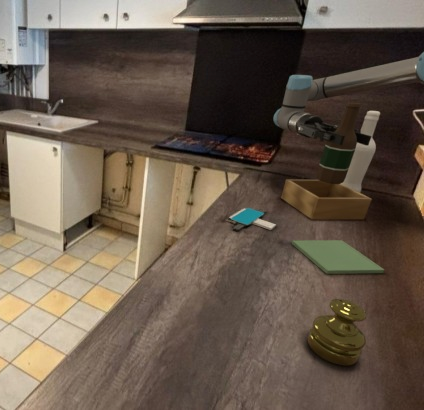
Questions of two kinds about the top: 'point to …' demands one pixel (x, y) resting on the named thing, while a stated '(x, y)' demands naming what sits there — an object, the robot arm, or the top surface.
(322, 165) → the beer bottle
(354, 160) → the bottle
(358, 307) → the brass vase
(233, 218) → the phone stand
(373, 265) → the mat
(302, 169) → the top surface
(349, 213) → the open wooden box
